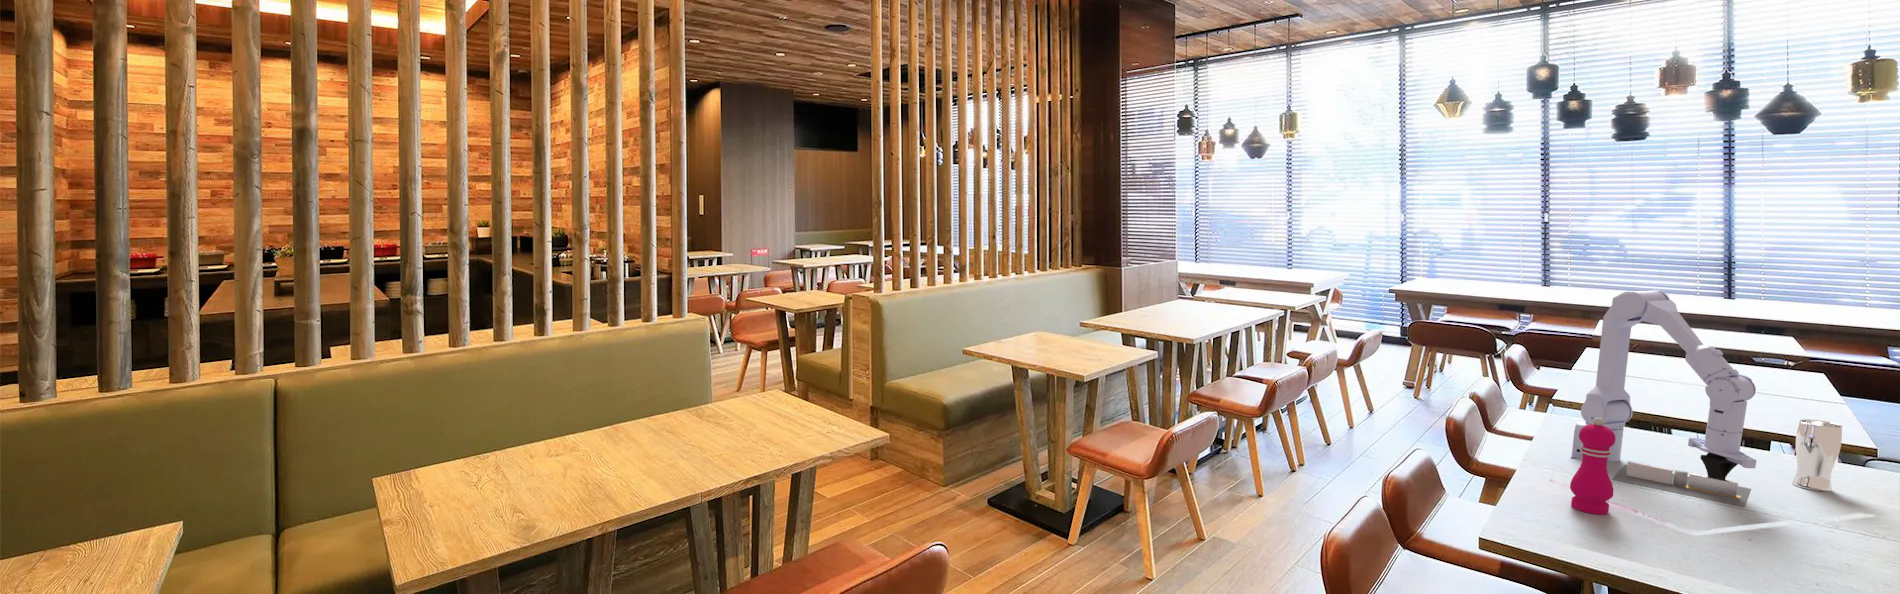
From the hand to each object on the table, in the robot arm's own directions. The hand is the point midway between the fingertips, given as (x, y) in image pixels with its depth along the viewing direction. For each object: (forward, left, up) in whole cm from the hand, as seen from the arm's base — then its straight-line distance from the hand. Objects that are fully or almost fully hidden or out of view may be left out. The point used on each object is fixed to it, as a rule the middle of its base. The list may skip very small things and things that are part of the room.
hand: (1715, 487), depth 179 cm
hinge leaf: (0, -2, 0) cm, 2 cm away
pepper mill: (-17, -32, -2) cm, 36 cm away
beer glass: (+14, +22, -2) cm, 26 cm away
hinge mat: (-6, -1, -1) cm, 6 cm away
